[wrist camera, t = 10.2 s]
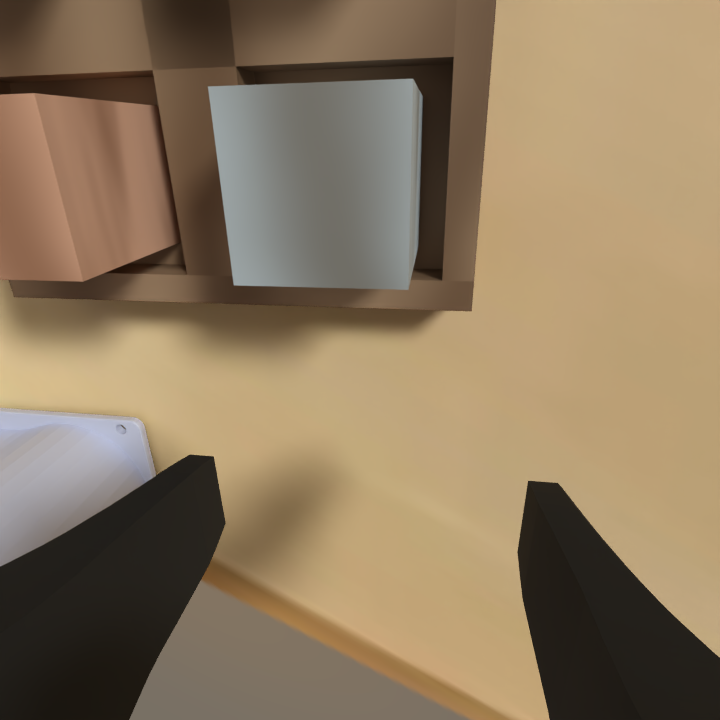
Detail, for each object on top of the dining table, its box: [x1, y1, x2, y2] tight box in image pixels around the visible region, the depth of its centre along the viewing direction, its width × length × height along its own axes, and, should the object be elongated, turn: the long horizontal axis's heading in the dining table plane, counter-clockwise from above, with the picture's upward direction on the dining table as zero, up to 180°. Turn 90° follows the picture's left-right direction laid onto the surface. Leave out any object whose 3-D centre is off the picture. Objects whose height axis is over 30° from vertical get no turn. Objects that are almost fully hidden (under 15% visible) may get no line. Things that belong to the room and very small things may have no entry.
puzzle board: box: [0, 0, 496, 311], centre depth 13 cm, size 17×17×6 cm
